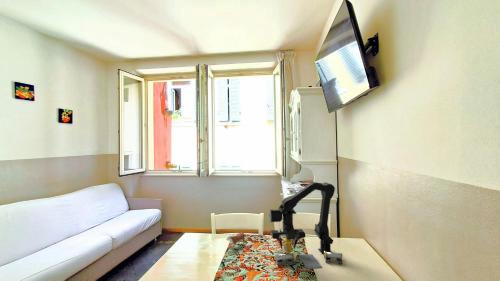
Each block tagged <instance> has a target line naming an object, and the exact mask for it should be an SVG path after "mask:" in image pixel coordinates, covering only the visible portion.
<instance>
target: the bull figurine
mask: <svg viewBox="0 0 500 281" xmlns="http://www.w3.org/2000/svg"><path fill="white" fill-rule="evenodd" d="M225 240H226V241H228V242H230V243H231V244H232V248H233V249H234V250H235V249H236V246H237V245H240V242H242V245H245V232H244V231H241V232H238V233H236V234H229V235H227V237H226V239H225Z"/></svg>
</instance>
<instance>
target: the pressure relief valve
mask: <svg viewBox="0 0 500 281" xmlns="http://www.w3.org/2000/svg"><path fill="white" fill-rule="evenodd" d="M282 240H283V241H282V247H283V248H282V249H280V250H279V251H277V252H276V254H284V253H285V254H291V253H292V252H293V250H294V248H293V247H292V246H291V244H292V245H293V239H290V240H288V239H287V238H286V237H284V238H283V239H282Z"/></svg>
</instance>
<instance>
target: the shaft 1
mask: <svg viewBox="0 0 500 281" xmlns="http://www.w3.org/2000/svg"><path fill="white" fill-rule="evenodd" d="M296 254H297V253H296V252H291V253H290V254H286V253H282V254H280V253H279V254H277V253H276V254H275V262H276V265H277V266H283V261H286V264H287V265H288V266H289V265H294V261H296V260H297V256H296Z"/></svg>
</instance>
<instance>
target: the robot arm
mask: <svg viewBox="0 0 500 281" xmlns="http://www.w3.org/2000/svg"><path fill="white" fill-rule="evenodd" d="M315 190H316V191H320V194H321V204H320V213H319V220H318V221H319V222H318V223H315V224H314V230H313V231H314V232H315V234H314V235H316V237H318V239H319V240H320V241H319V246H320V247H319V248H318V249H317V250H318V251H319V252H320V253H321V255H324V251H326V252H333V250H331V249H332V248H331V247H332V246H331V245H332V244H333V243H334V239H333V238H332V237H330V229H329V225H328V222H329V214H330V207H331V200H332V198H333V197H334V194H335V191H336V188H335V186H334V185H333V184H331V183H329V182H327V181H325V182H322V183H321V182H315V181H310V182H309V183H308V184H307V185H306V186H304V187H303V188H301V189H300V190H298V191H297V192H296V193H294V194H293V195H290V196H287V197H285V198H283V199H282V200H281V204H280V205H279V207H278V209H270V210H269V215H268V216H269V222H270V223H280V222H282V231H279V229H272V230H271V231H270V237H271V238H272V240H273V239H274V240H277V241H278V243H279V247H280V250H283V241H282V240H283V239H282V237H283V236H285V238H287V239H288V240H290V239H293V243H292V245H293V247H292V248H293V250H294V249H296V246H297V243H298V242H299V240H301V239H302V238H306V232H305V231H304V230H303V229H302V228H297V229H295V227H294V215H296V214H297V211H295V209H294V208H295V207H296V206H297V205H298V203H299V202H300V201H302V199H305V198H306V197H308V195H310V194H312V192H315Z"/></svg>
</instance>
